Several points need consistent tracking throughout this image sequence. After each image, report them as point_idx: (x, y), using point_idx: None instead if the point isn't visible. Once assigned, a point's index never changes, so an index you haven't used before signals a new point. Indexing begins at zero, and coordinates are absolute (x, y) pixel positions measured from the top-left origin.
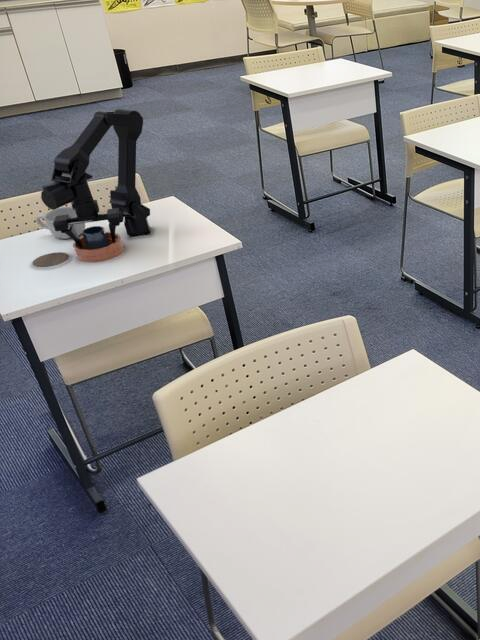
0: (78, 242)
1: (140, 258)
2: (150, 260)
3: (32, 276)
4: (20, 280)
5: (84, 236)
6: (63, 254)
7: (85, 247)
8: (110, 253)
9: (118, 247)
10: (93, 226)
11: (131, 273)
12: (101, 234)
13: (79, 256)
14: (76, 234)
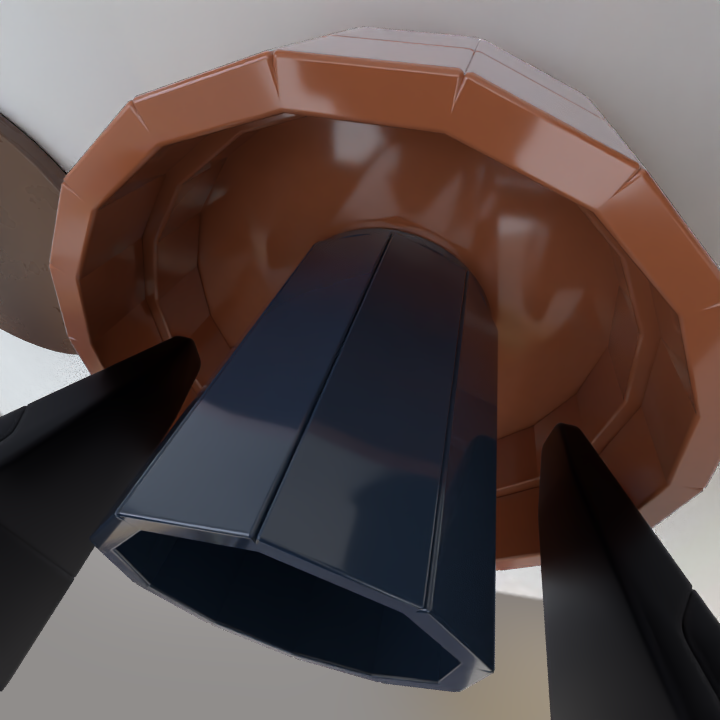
0: (149, 450)
1: (659, 525)
2: (699, 570)
3: (33, 379)
4: (4, 386)
5: (194, 551)
6: (22, 180)
7: (202, 187)
8: None
9: None
10: (248, 540)
11: (518, 587)
12: (415, 626)
13: None
14: (51, 497)
